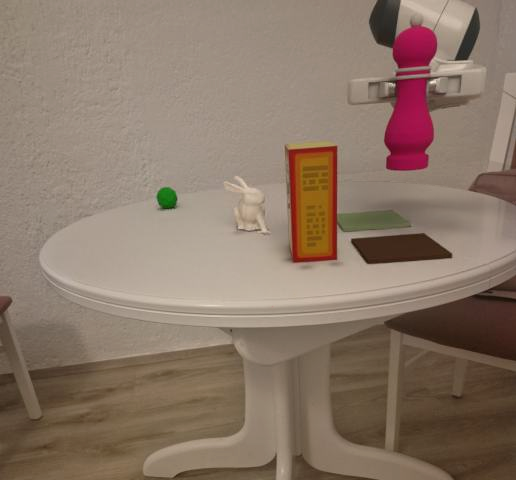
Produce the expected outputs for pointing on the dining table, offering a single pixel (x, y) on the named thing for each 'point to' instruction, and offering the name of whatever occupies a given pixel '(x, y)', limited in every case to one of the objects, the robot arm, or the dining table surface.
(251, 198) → the rabbit figurine
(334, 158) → the baking soda box
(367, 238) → the dark mat
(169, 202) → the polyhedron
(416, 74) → the pepper mill
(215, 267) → the dining table surface
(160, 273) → the dining table surface
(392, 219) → the sage mat
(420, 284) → the dining table surface
